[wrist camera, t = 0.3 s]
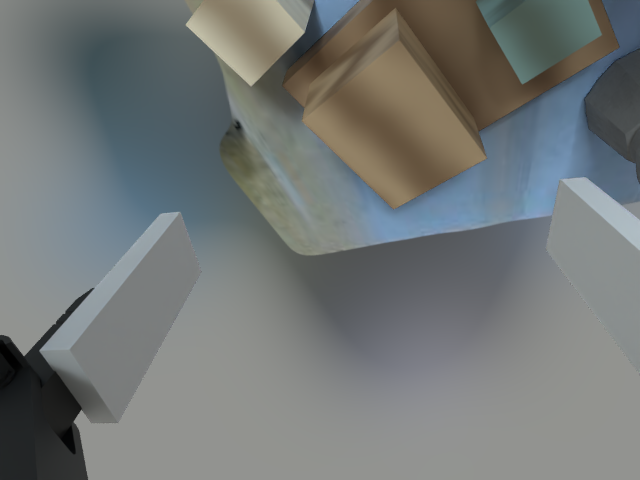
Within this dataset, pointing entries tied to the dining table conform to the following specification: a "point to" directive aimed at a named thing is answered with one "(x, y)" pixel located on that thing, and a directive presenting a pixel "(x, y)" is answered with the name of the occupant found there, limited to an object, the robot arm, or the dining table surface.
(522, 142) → the dining table surface
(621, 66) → the coffeepot
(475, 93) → the base
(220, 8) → the oak block
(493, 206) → the dining table surface
